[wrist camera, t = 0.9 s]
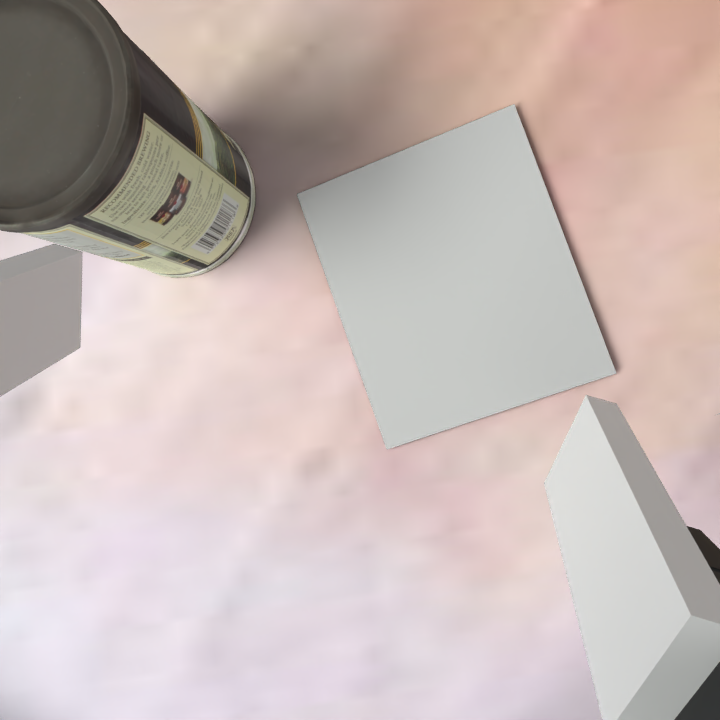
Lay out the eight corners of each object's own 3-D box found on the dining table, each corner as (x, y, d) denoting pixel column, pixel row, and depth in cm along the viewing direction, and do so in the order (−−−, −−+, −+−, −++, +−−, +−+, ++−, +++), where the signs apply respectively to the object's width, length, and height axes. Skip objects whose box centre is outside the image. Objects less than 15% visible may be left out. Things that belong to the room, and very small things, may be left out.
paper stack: (673, 42, 32) (678, 35, 31) (838, 458, 30) (848, 460, 30) (299, 197, 35) (296, 194, 34) (433, 577, 34) (433, 582, 33)
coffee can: (118, 114, 37) (-83, -36, 23) (267, 127, 35) (149, -26, 21) (97, 269, 37) (-114, 214, 23) (244, 289, 35) (112, 243, 21)
